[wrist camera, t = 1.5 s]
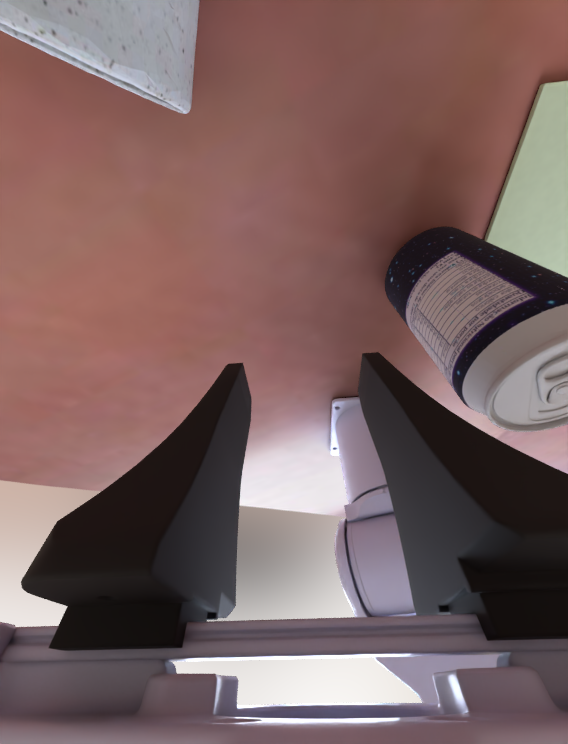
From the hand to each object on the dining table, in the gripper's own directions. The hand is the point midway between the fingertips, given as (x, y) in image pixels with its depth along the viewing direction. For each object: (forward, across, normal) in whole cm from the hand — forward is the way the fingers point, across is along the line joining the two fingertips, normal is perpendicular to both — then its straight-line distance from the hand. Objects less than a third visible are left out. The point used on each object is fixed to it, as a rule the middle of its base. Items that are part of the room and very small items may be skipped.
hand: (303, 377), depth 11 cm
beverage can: (+11, -9, 0) cm, 14 cm away
